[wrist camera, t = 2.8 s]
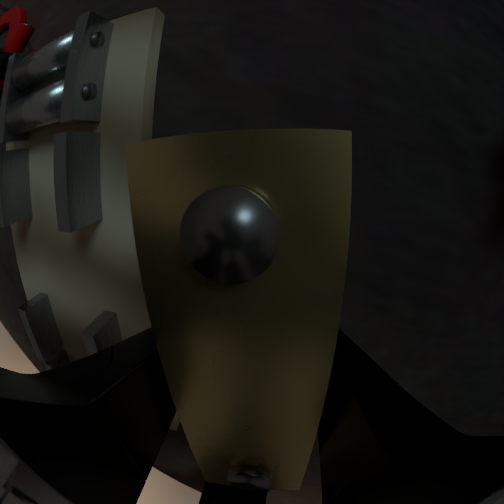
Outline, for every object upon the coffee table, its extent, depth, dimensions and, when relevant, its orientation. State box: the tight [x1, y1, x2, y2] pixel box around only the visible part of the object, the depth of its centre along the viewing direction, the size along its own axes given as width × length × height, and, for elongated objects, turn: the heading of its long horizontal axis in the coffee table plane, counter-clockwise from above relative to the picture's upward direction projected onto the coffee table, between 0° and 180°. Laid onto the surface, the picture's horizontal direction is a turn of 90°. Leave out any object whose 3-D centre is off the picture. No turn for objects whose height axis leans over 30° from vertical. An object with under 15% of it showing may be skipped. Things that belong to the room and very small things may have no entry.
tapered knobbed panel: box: [126, 129, 352, 490], centre depth 7 cm, size 11×4×5 cm, turn 2°
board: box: [6, 7, 180, 431], centre depth 13 cm, size 25×11×1 cm, turn 177°
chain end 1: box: [0, 11, 114, 233], centre depth 9 cm, size 10×7×2 cm
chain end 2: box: [18, 292, 123, 370], centre depth 14 cm, size 10×7×2 cm
